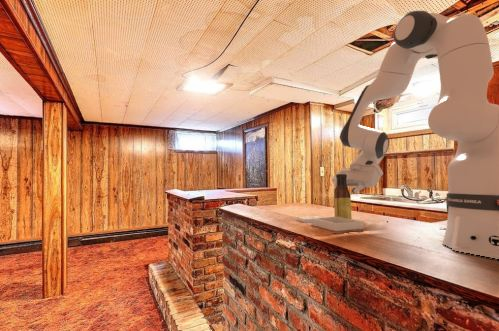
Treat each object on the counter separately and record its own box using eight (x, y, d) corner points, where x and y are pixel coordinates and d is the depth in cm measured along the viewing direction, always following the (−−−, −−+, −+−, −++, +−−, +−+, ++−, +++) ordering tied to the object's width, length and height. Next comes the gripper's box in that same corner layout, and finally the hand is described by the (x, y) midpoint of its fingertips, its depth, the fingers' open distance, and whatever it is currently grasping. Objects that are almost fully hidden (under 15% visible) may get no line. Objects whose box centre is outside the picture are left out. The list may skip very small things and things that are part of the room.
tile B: (315, 221, 96) (315, 218, 96) (303, 222, 95) (303, 219, 95) (308, 219, 101) (308, 216, 101) (297, 220, 99) (297, 217, 99)
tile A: (327, 220, 99) (327, 217, 99) (318, 221, 97) (318, 218, 97) (318, 218, 104) (318, 215, 104) (309, 219, 101) (309, 216, 101)
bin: (363, 231, 85) (363, 221, 85) (335, 234, 79) (335, 223, 79) (337, 225, 95) (337, 216, 95) (311, 228, 90) (311, 218, 90)
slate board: (331, 224, 98) (331, 221, 98) (306, 226, 93) (306, 223, 93) (314, 220, 107) (314, 217, 107) (290, 222, 102) (290, 219, 102)
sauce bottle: (354, 224, 98) (354, 174, 99) (345, 226, 95) (344, 173, 96) (340, 222, 104) (340, 174, 105) (330, 223, 100) (330, 173, 101)
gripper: (339, 163, 114) (322, 185, 109) (379, 161, 95) (361, 187, 90) (346, 174, 115) (329, 195, 111) (387, 173, 97) (369, 199, 92)
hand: (344, 191), depth 100 cm, fingers open, 8 cm apart
